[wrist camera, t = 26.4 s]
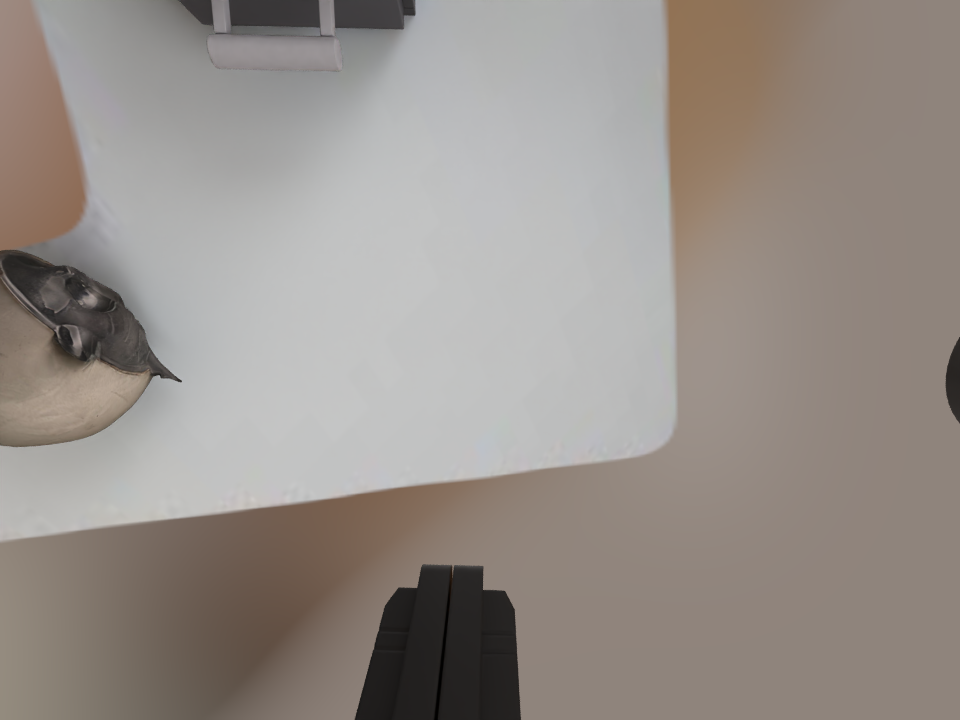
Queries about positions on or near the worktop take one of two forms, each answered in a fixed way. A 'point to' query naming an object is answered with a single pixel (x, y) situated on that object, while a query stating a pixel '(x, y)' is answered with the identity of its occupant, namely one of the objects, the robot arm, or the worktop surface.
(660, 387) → the worktop surface
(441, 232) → the worktop surface
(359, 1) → the drawer
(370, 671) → the robot arm
